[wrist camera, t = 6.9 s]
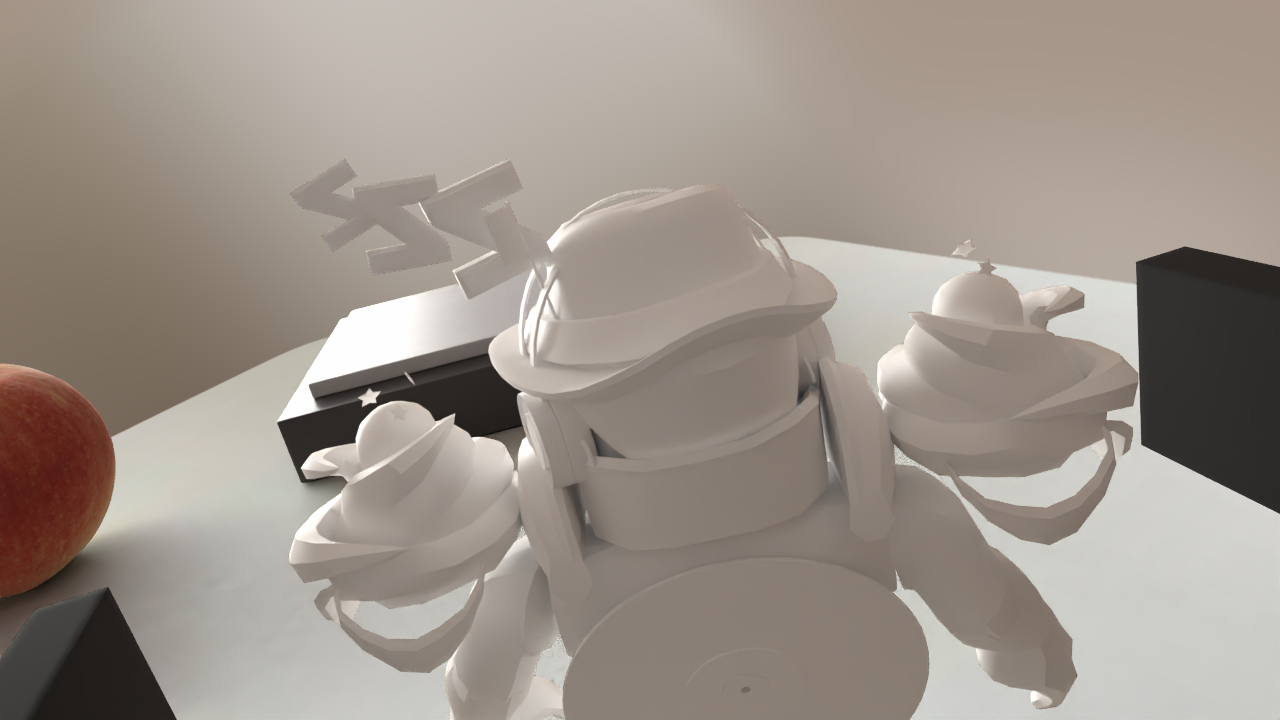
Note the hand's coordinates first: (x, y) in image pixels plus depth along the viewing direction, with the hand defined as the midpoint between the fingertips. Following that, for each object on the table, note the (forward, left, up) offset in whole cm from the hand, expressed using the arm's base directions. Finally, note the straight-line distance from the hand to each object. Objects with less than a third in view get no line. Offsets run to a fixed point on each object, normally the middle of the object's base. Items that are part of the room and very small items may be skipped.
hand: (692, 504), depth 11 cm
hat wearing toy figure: (0, +1, -7) cm, 7 cm away
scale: (+5, -27, -7) cm, 29 cm away
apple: (+21, -19, -7) cm, 29 cm away
